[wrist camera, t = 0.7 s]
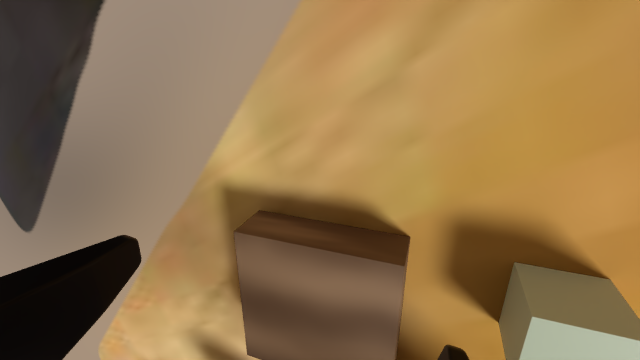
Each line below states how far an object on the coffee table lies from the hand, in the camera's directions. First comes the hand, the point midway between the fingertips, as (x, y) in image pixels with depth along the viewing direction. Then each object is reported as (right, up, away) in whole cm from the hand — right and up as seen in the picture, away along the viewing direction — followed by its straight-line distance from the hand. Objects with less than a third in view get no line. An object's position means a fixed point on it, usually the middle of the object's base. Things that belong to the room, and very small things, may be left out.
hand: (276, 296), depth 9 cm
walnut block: (+2, -6, +18) cm, 19 cm away
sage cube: (+16, -5, +12) cm, 21 cm away
